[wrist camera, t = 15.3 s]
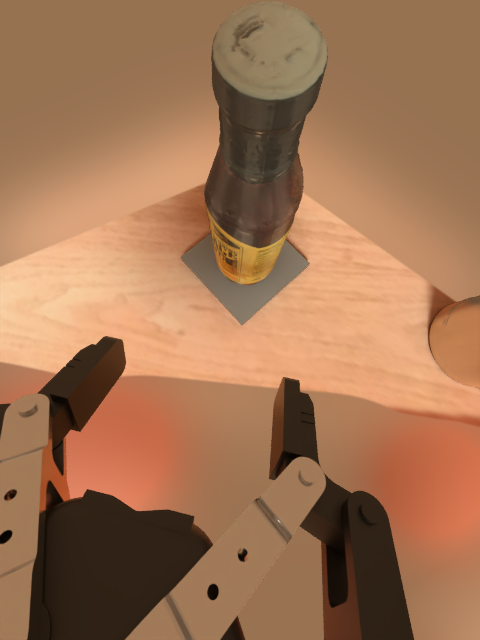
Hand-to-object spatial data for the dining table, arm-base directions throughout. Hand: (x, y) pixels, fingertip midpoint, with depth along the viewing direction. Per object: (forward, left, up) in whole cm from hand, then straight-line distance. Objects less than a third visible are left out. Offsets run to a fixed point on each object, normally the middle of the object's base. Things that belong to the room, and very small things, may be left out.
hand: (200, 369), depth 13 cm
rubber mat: (+7, -10, -15) cm, 19 cm away
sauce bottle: (+7, -10, -14) cm, 18 cm away
